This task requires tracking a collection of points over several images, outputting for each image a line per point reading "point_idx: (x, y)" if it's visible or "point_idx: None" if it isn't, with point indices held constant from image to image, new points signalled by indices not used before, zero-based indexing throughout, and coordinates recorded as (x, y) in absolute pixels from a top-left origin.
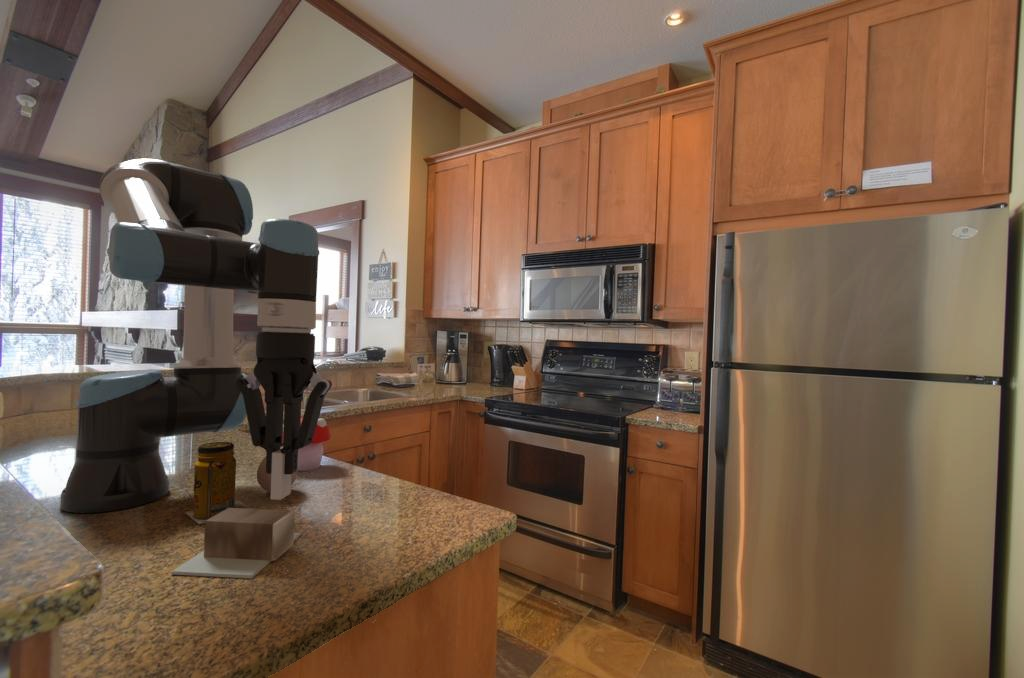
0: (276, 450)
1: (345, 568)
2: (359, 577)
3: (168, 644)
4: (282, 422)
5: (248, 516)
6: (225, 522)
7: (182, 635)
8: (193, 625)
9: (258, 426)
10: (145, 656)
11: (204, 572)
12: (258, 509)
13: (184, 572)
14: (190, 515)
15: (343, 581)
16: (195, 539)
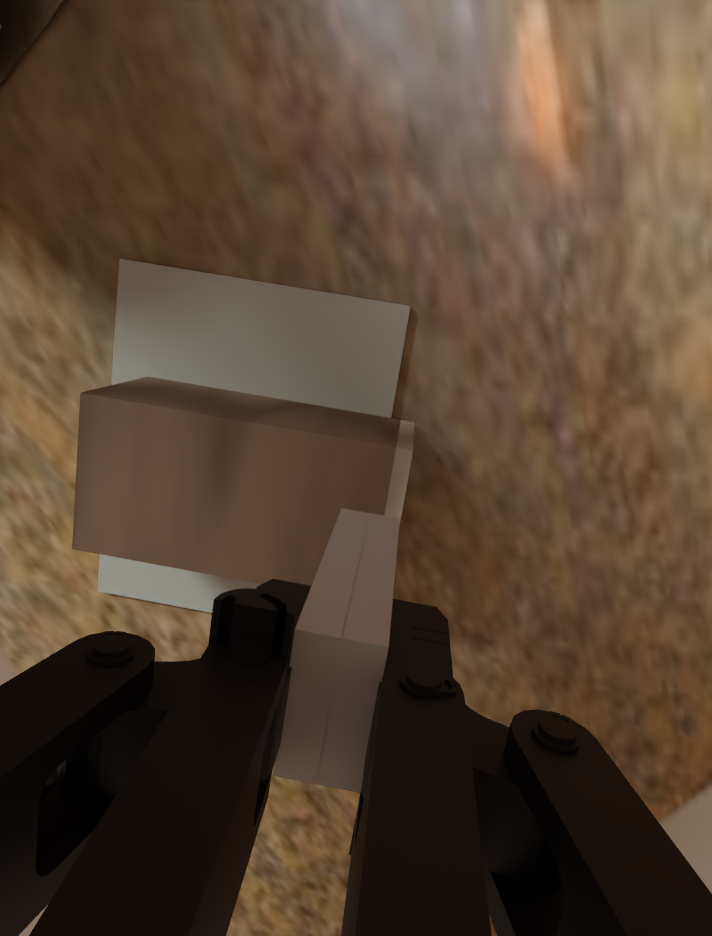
0: (283, 724)
1: (646, 597)
2: (702, 659)
3: (292, 885)
4: (226, 828)
5: (226, 510)
6: (161, 563)
7: (304, 860)
8: (308, 829)
9: (18, 918)
10: (269, 913)
11: (199, 607)
12: (231, 423)
13: (137, 596)
14: None
15: (651, 678)
16: (11, 324)
